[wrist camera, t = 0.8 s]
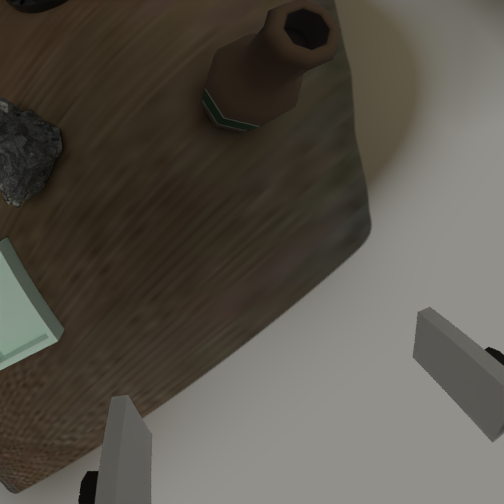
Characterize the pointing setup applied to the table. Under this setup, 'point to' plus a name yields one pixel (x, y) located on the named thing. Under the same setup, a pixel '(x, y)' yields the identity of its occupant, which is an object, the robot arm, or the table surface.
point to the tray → (22, 311)
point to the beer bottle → (268, 66)
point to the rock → (25, 153)
